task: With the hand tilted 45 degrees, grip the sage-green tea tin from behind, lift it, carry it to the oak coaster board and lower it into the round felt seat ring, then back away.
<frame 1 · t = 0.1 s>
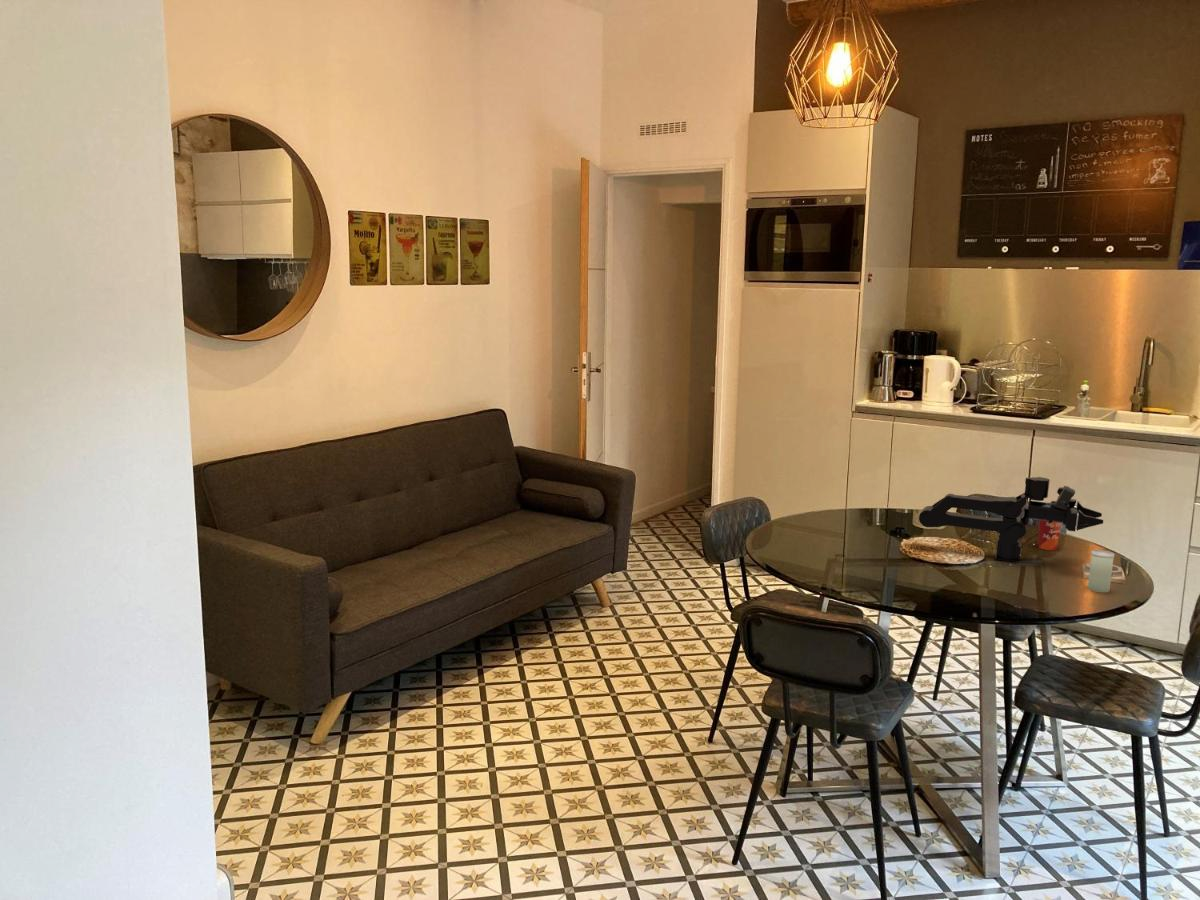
hand: (1102, 518, 286), 17 cm above the table, tool horizontal, fingers open, 9 cm apart
paper cup: (1047, 548, 313), on the table
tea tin: (1098, 589, 272), on the table
seat board: (1103, 575, 284), on the table
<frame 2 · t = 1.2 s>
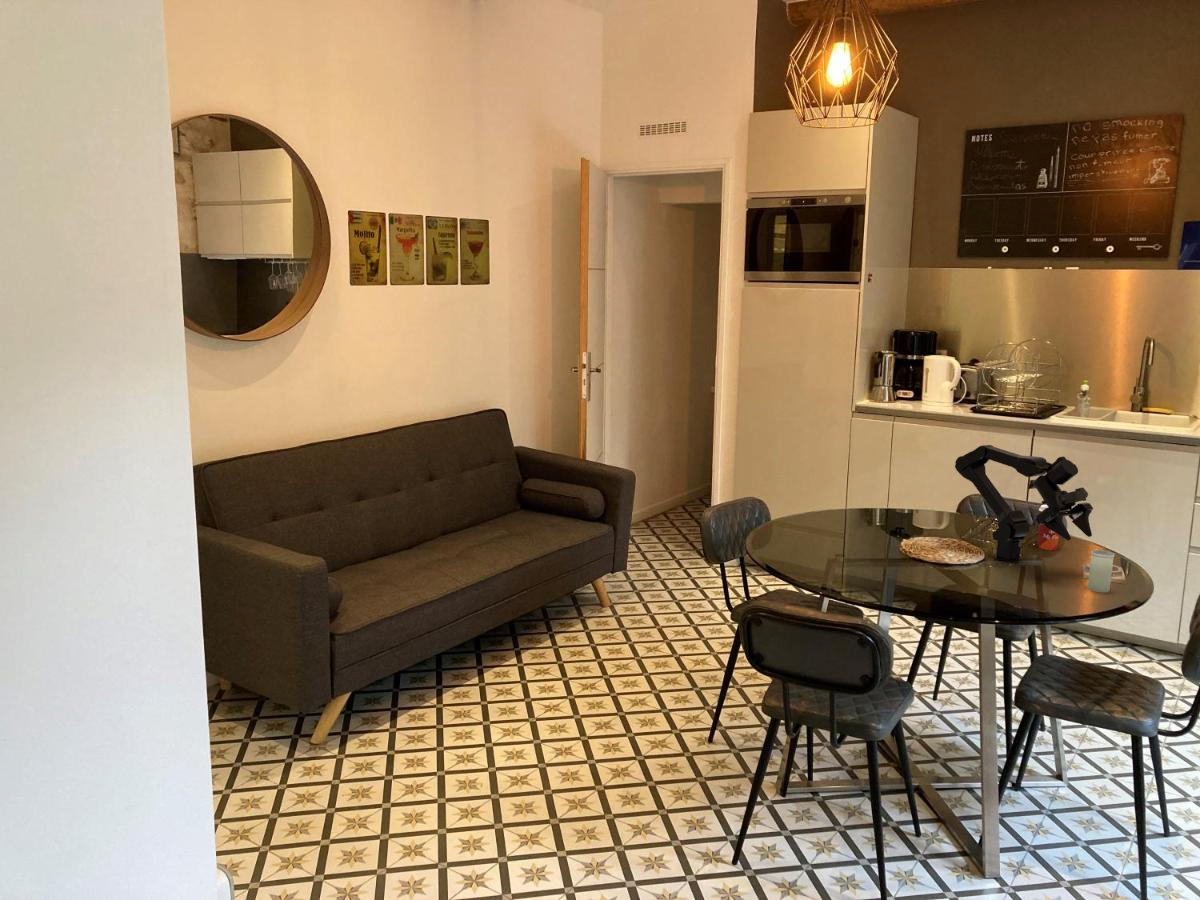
hand: (1080, 538, 276), 13 cm above the table, tool tilted 45°, fingers open, 9 cm apart
nothing on the table moved.
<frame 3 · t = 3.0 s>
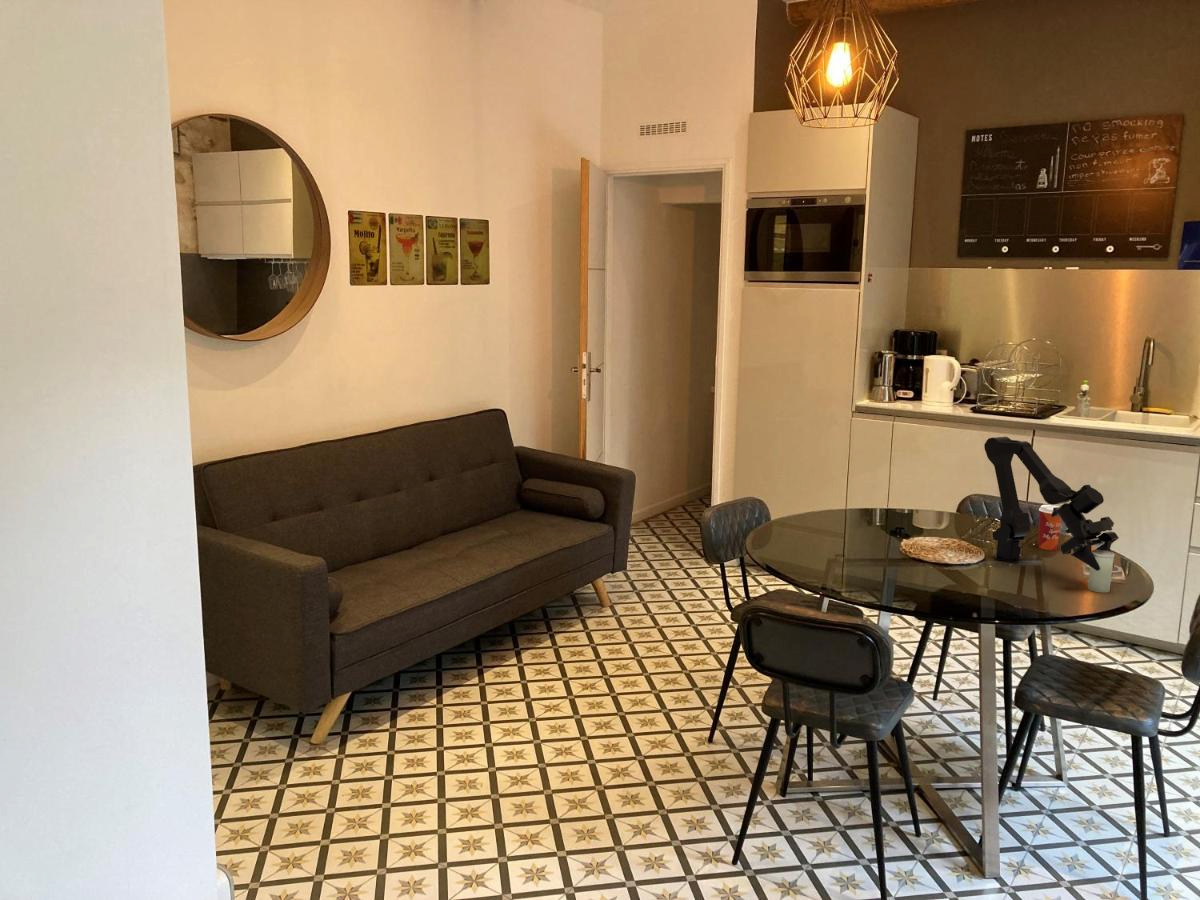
hand: (1105, 568, 269), 7 cm above the table, tool tilted 45°, fingers closed on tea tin, 6 cm apart
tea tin: (1098, 589, 271), on the table, touching gripper
everything else where it was.
when the fingers open (9 cm above the table, at t = 6.3 s): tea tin stays where it is, resting on seat board.
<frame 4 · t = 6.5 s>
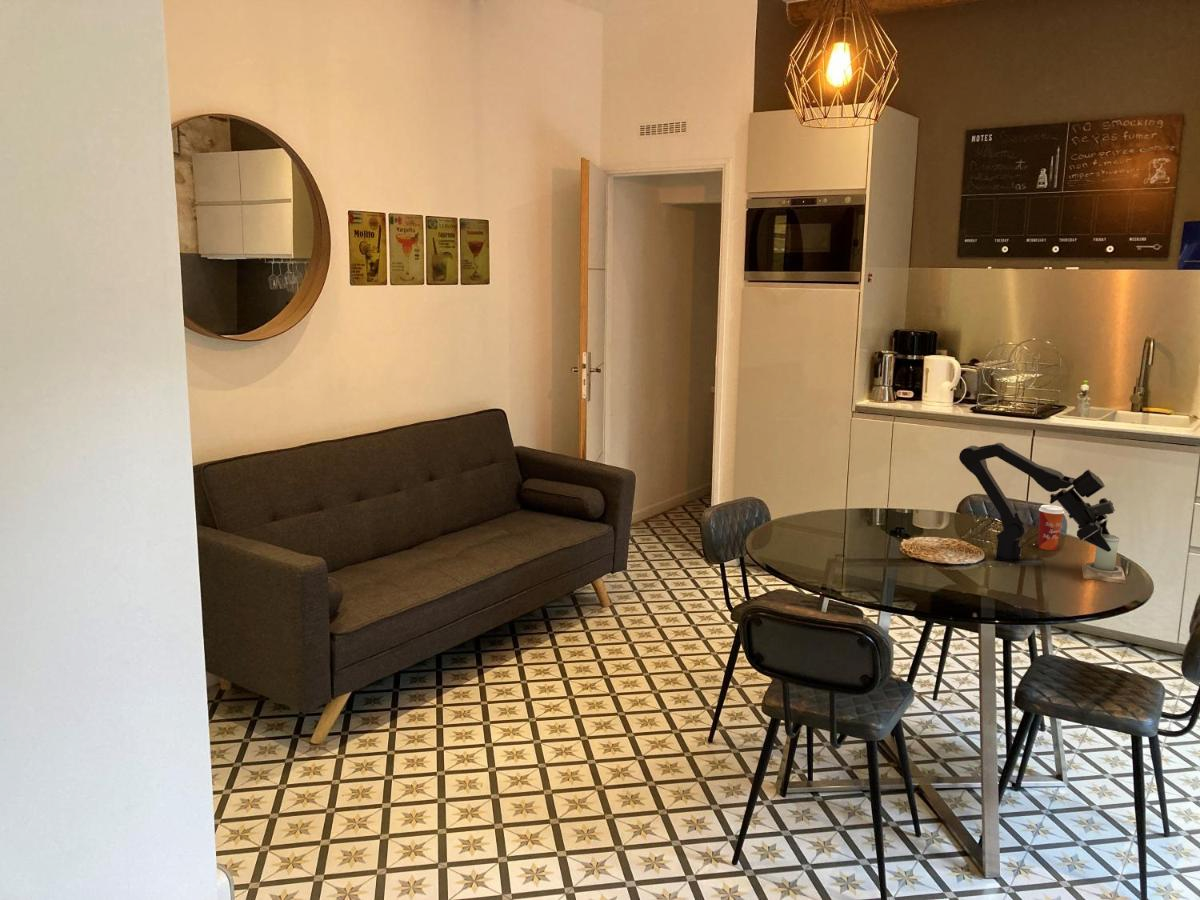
hand: (1111, 548, 282), 9 cm above the table, tool tilted 45°, fingers open, 7 cm apart
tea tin: (1103, 571, 284), point 1 cm above the table, touching seat board
everything else where it was.
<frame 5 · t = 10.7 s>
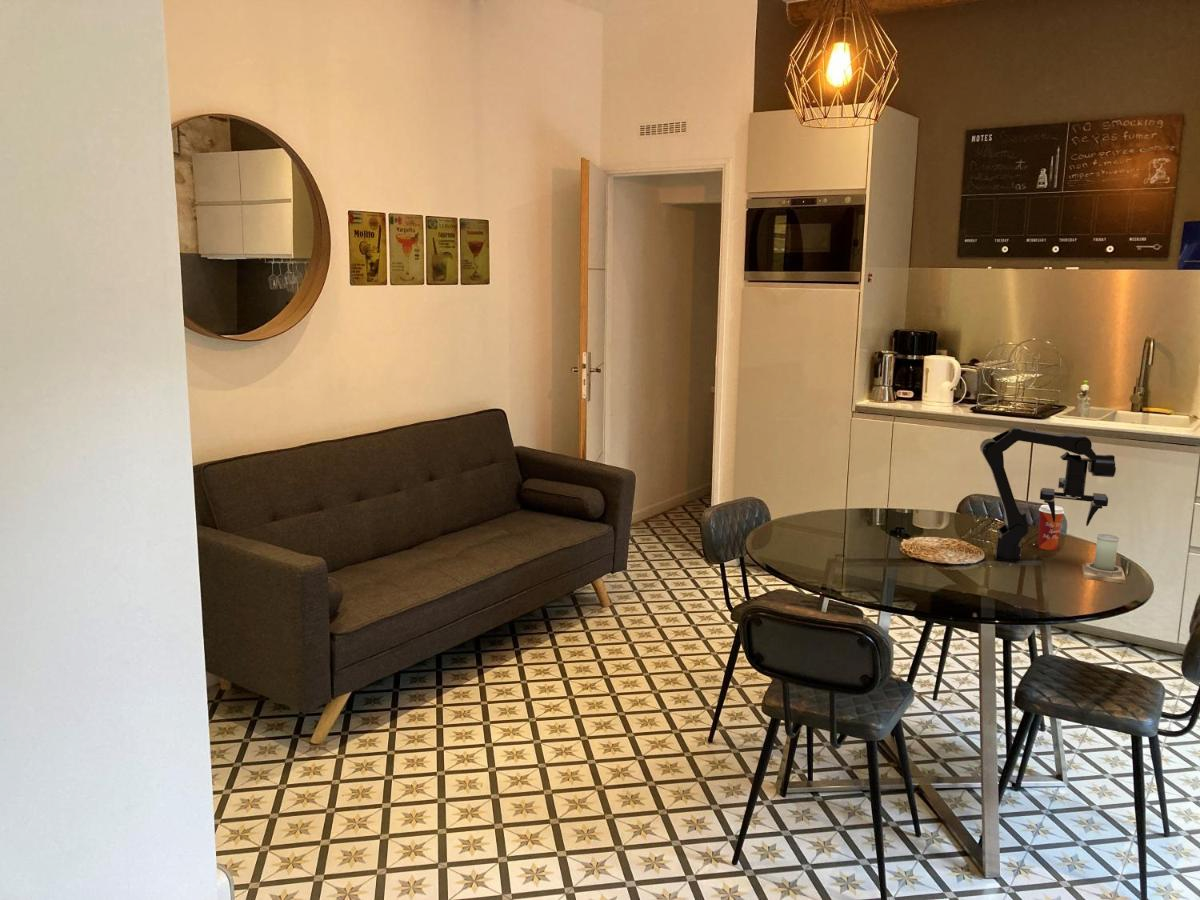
hand: (1070, 523, 293), 13 cm above the table, tool pointing down, fingers open, 9 cm apart
nothing on the table moved.
at the end: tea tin 0.0 cm off-centre on the seat board, point 1.2 cm above the seat board's base; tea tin tilted 1°; the gripper is holding nothing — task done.
